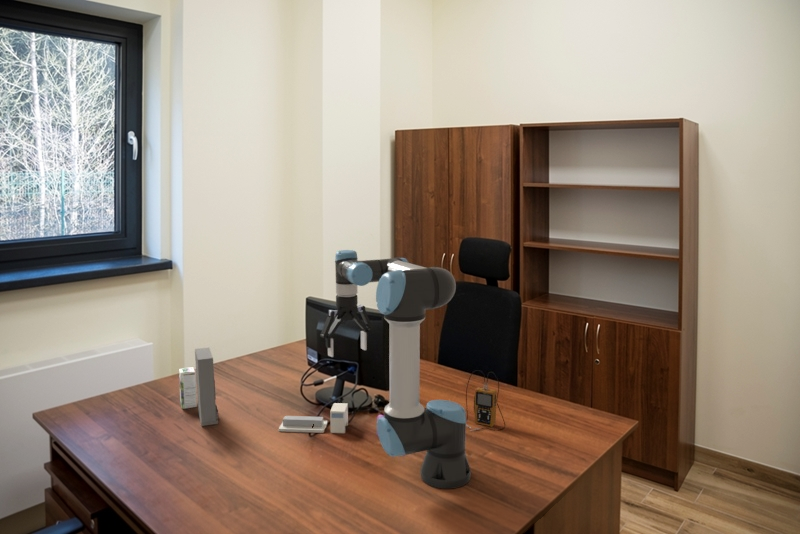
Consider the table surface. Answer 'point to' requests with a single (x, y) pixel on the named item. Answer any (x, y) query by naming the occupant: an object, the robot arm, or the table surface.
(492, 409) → the multimeter
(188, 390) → the syrup box
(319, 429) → the rail base
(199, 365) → the tall grey upright slab
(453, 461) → the robot arm
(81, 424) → the table surface
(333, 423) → the module
